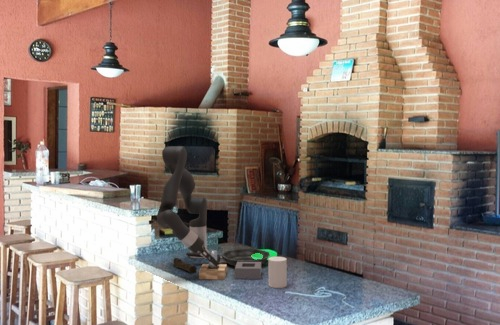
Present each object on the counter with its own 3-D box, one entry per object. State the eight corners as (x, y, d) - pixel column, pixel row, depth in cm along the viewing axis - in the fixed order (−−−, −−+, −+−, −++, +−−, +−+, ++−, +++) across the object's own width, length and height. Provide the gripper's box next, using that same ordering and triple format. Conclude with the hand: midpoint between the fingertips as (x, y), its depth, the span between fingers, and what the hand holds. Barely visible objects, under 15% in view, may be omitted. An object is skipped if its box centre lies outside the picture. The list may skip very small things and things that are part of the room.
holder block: (237, 271, 249) (237, 261, 249) (261, 271, 249) (261, 261, 248) (235, 278, 237) (235, 268, 237) (260, 279, 237) (260, 268, 236)
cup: (288, 283, 230) (288, 257, 229) (283, 288, 222) (283, 261, 221) (271, 281, 232) (271, 256, 232) (266, 287, 225) (266, 260, 224)
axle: (209, 274, 245) (209, 250, 244) (217, 274, 245) (217, 250, 244) (208, 276, 241) (208, 252, 240) (216, 276, 241) (216, 252, 240)
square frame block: (202, 271, 249) (202, 264, 249) (226, 272, 249) (226, 264, 248) (198, 279, 237) (198, 270, 237) (224, 279, 237) (224, 270, 236)
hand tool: (197, 273, 249) (196, 263, 248) (189, 274, 246) (189, 265, 246) (178, 265, 264) (178, 256, 264) (171, 266, 261) (171, 257, 261)
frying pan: (266, 256, 279) (266, 244, 278) (272, 269, 254) (272, 255, 254) (187, 259, 275) (187, 246, 275) (185, 271, 250) (184, 258, 250)
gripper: (200, 238, 233) (224, 260, 237) (194, 232, 246) (217, 253, 250) (188, 250, 232) (213, 272, 236) (183, 243, 245) (207, 265, 249)
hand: (215, 262), depth 243 cm, fingers open, 8 cm apart
